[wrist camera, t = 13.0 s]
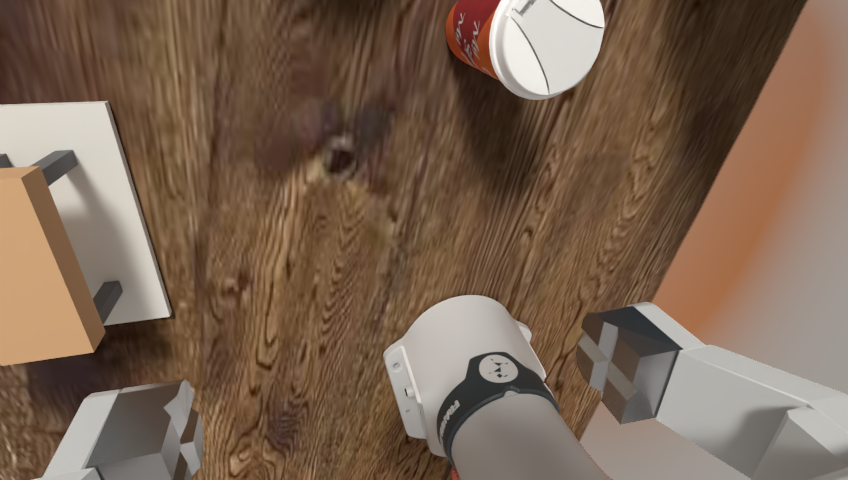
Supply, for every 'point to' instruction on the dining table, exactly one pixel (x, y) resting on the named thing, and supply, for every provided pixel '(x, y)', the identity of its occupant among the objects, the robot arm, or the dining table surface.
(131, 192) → the felt mat
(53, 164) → the bench model
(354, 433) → the dining table surface
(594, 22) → the paper cup
